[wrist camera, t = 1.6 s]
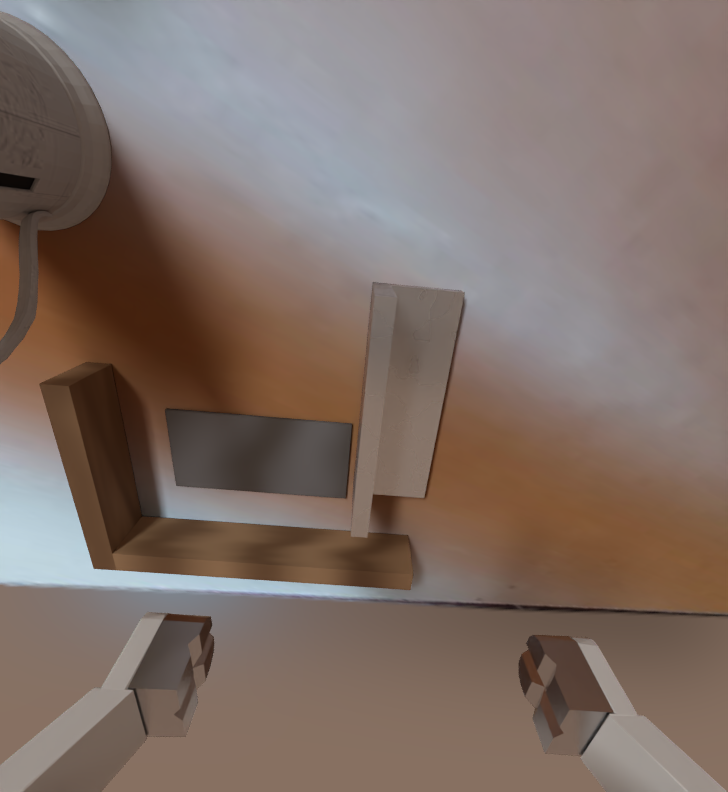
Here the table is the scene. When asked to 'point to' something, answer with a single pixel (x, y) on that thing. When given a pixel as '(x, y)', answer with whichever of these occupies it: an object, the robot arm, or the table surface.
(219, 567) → the brown wooden l-shaped piece
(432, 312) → the angle bracket
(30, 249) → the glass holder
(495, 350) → the table surface
